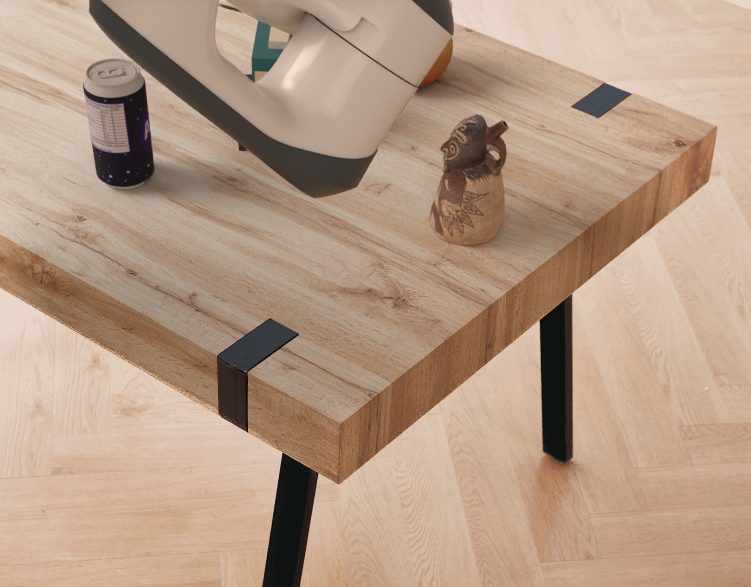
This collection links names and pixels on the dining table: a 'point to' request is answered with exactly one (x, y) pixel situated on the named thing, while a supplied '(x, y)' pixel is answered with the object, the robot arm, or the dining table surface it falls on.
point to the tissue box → (267, 49)
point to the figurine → (471, 184)
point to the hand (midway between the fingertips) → (354, 9)
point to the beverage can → (119, 123)
